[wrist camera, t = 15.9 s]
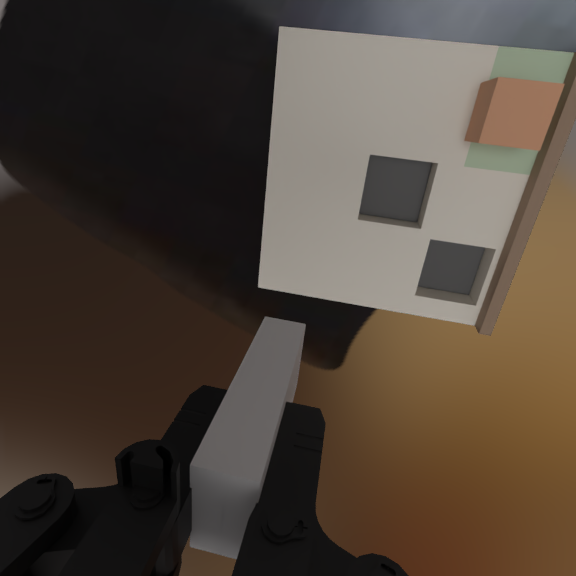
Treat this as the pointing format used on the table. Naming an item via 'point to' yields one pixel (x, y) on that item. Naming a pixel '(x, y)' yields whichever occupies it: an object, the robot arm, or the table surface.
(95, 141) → the table surface
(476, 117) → the block
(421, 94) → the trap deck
